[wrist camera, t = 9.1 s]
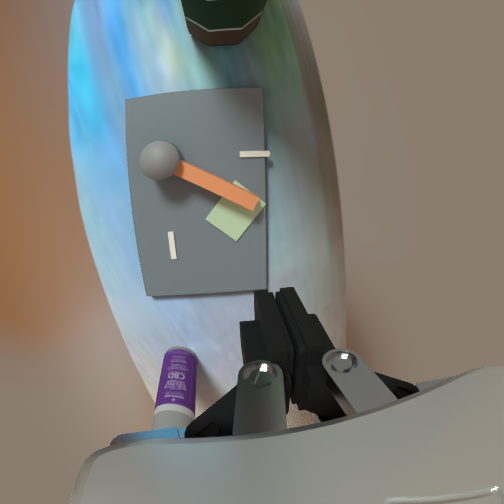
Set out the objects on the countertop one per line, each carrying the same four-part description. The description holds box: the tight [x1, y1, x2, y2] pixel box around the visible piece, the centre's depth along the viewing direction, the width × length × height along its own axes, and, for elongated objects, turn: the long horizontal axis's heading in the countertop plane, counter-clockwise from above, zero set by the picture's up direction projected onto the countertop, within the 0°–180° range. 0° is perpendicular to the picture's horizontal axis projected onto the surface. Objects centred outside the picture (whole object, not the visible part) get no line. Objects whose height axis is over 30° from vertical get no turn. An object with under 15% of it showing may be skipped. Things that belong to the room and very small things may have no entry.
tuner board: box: [126, 88, 270, 296], centre depth 27 cm, size 22×14×1 cm, turn 1°
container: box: [152, 347, 197, 430], centre depth 28 cm, size 5×5×15 cm
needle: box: [139, 141, 260, 211], centre depth 25 cm, size 12×4×3 cm, turn 63°
